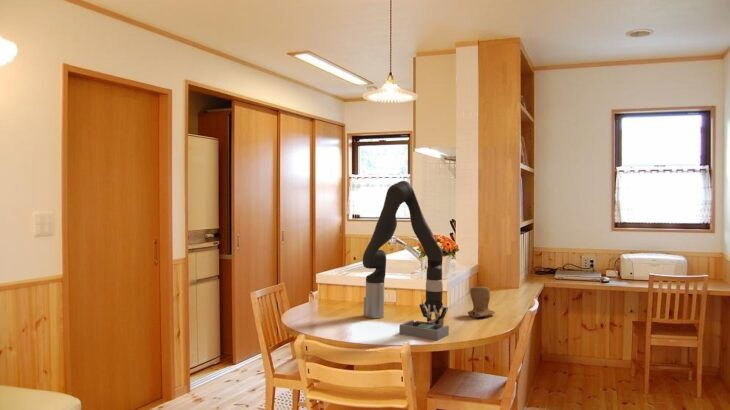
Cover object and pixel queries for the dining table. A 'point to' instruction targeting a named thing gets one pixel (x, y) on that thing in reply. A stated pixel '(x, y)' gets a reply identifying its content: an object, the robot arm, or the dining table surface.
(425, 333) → the box
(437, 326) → the long-handled tray
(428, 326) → the teal square block
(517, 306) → the dining table surface
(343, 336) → the dining table surface
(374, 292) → the robot arm
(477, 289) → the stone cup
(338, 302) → the dining table surface
